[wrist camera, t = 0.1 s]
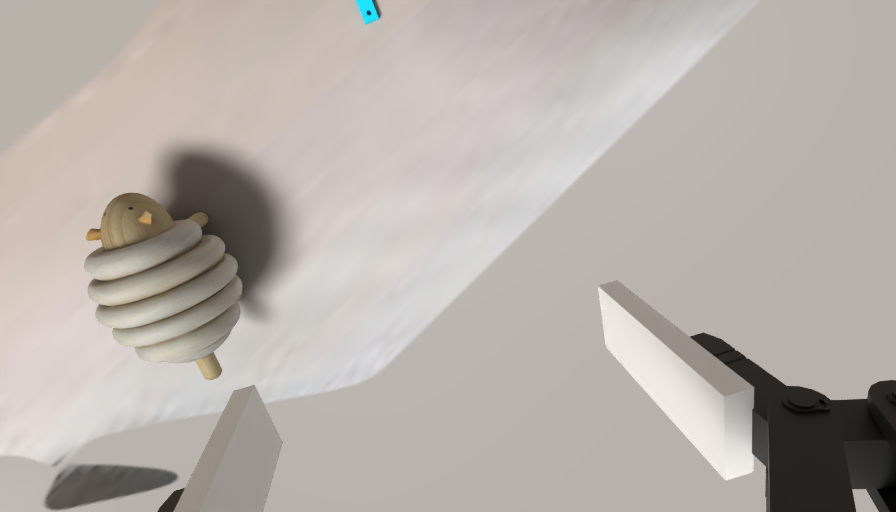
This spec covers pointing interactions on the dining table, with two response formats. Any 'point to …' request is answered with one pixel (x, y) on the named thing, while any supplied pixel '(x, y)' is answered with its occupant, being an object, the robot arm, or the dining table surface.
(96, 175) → the dining table surface
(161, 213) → the toy sheep
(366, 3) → the gear mechanism
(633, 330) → the robot arm
